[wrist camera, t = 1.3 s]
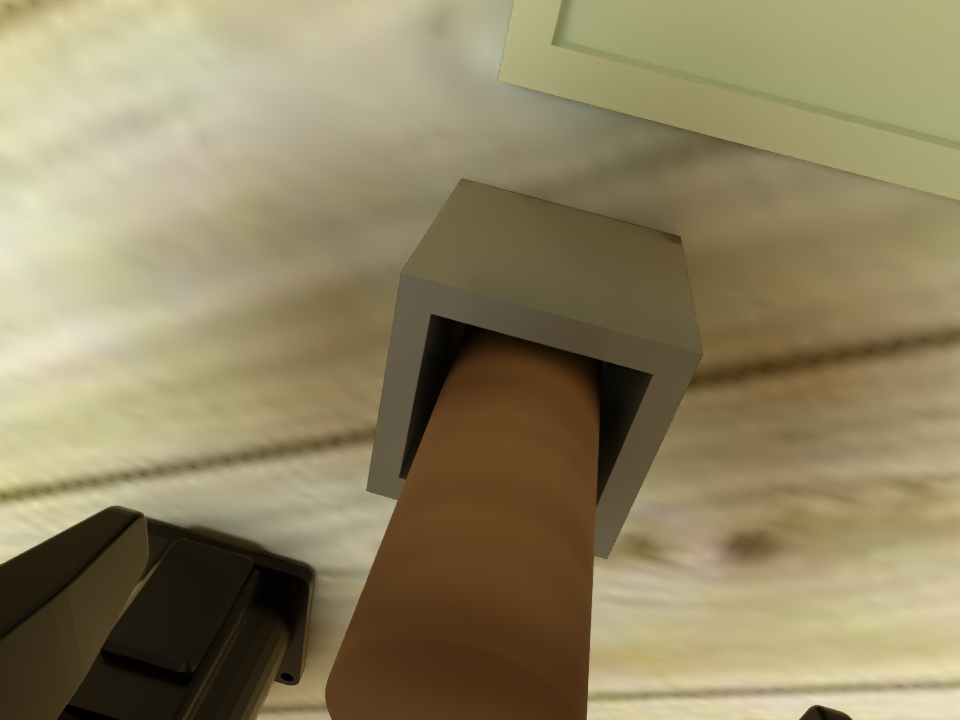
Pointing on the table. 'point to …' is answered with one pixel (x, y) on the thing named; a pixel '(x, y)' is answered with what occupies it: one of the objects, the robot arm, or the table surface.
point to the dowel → (486, 549)
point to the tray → (764, 75)
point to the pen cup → (544, 326)
